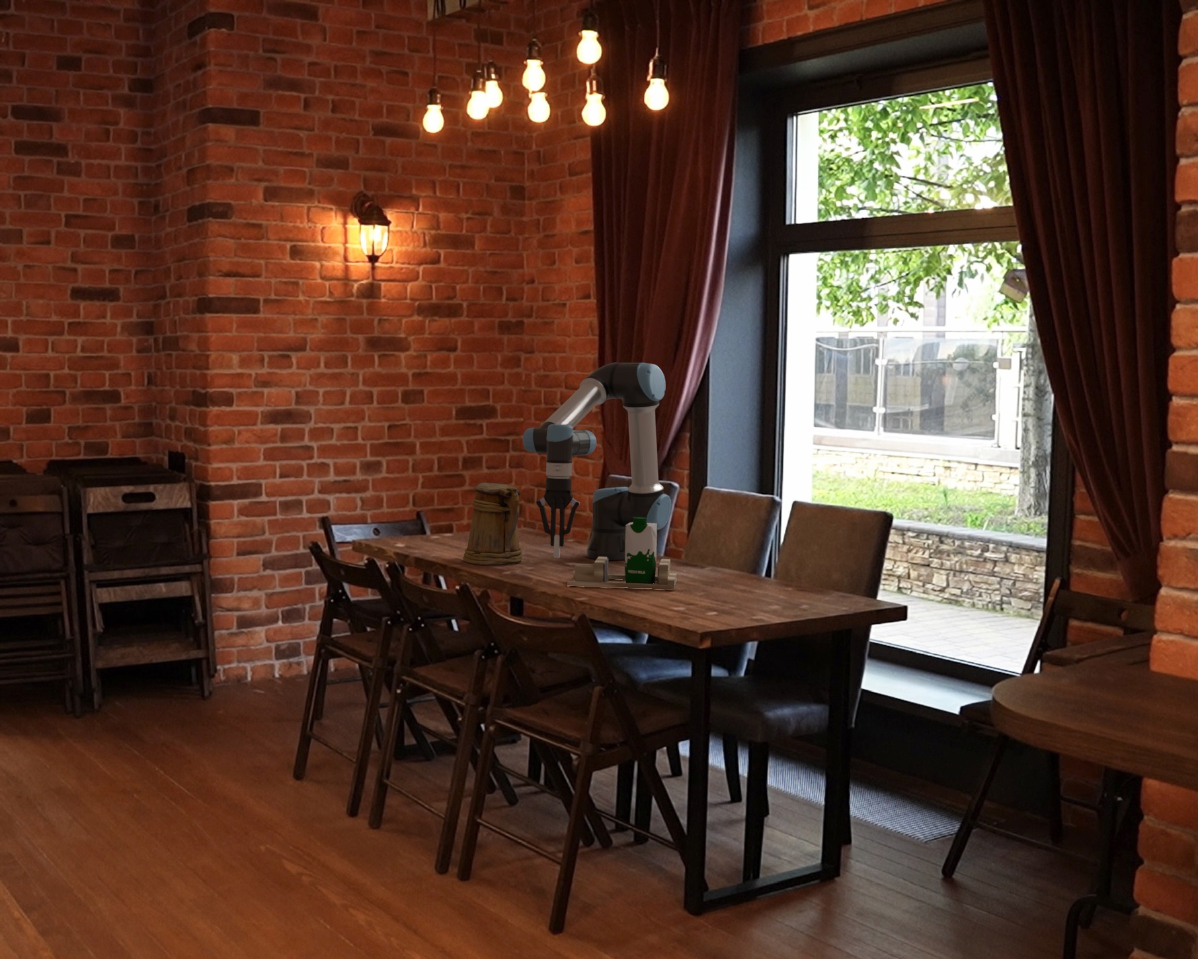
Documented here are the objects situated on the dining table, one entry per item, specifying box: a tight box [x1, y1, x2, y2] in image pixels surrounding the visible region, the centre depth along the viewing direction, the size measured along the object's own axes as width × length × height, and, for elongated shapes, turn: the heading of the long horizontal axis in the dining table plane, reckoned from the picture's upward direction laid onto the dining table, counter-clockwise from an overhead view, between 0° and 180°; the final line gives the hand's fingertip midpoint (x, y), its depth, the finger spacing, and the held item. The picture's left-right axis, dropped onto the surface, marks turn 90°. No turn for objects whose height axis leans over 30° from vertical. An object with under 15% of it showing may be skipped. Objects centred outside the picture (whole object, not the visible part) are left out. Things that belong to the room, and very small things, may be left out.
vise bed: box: [566, 558, 678, 590], centre depth 399 cm, size 16×31×7 cm, turn 84°
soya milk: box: [624, 517, 658, 584], centre depth 398 cm, size 9×9×20 cm
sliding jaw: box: [574, 557, 609, 582], centre depth 400 cm, size 12×9×7 cm
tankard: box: [462, 482, 523, 566], centre depth 434 cm, size 18×24×25 cm
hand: (556, 557), depth 400 cm, fingers closed
